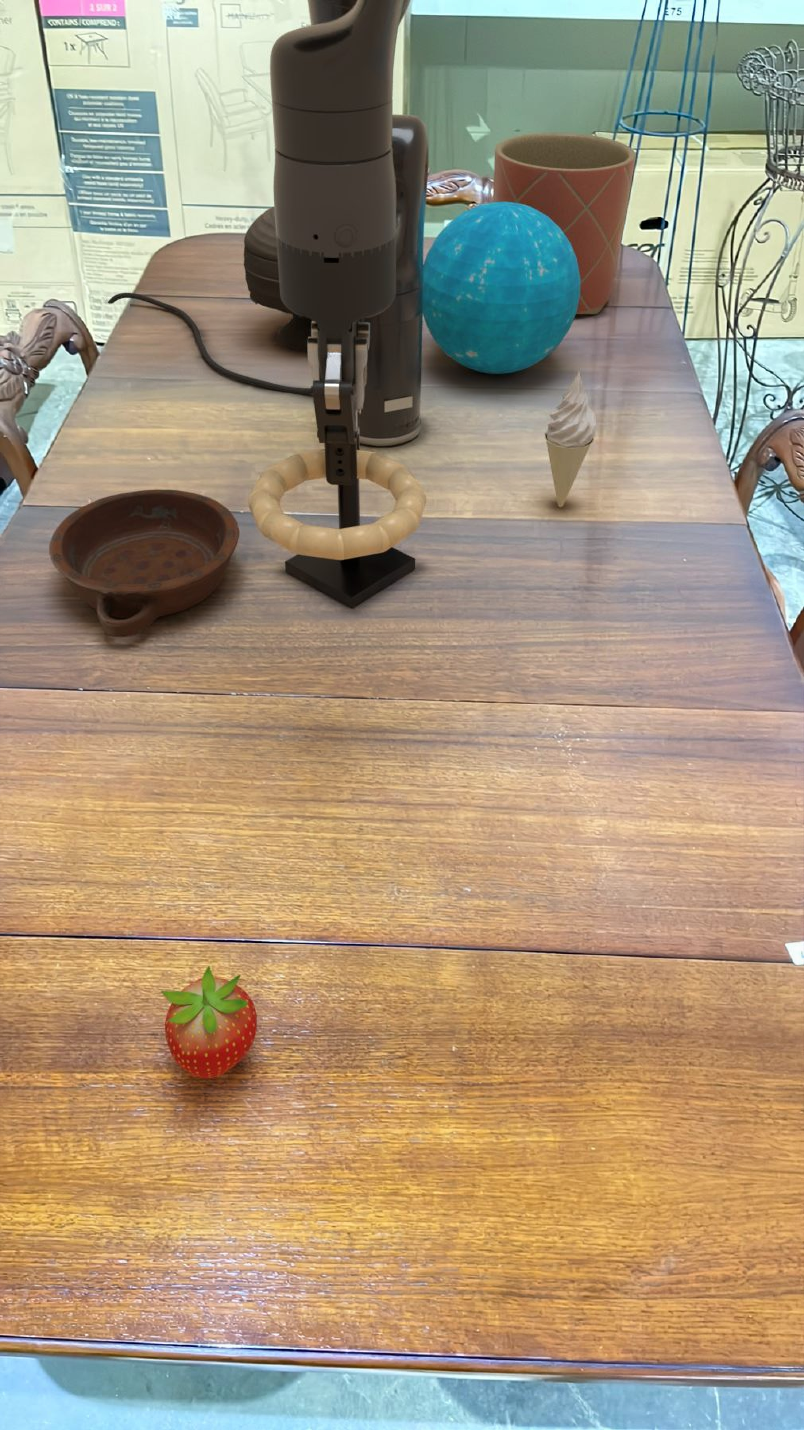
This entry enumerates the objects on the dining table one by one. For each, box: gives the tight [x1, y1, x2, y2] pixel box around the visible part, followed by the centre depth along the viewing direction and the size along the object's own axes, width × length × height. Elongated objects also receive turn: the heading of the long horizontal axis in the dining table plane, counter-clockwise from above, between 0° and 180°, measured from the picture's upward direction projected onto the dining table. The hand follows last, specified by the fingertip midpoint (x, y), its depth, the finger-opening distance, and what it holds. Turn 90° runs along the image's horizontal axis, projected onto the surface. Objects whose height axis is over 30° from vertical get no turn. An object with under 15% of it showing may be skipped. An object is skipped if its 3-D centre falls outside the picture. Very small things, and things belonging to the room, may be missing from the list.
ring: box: [247, 448, 427, 560], centre depth 75 cm, size 12×12×2 cm
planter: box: [492, 132, 637, 315], centre depth 153 cm, size 19×19×20 cm
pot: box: [243, 206, 313, 353], centre depth 142 cm, size 18×18×20 cm
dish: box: [48, 488, 240, 638], centre depth 102 cm, size 18×22×5 cm
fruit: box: [160, 965, 258, 1079], centre depth 63 cm, size 5×5×8 cm
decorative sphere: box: [423, 201, 580, 375], centre depth 135 cm, size 20×20×20 cm
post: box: [284, 478, 416, 609], centre depth 100 cm, size 9×9×15 cm
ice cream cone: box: [543, 371, 597, 508], centre depth 110 cm, size 5×5×15 cm
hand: (343, 471), depth 79 cm, fingers closed on ring, 2 cm apart
